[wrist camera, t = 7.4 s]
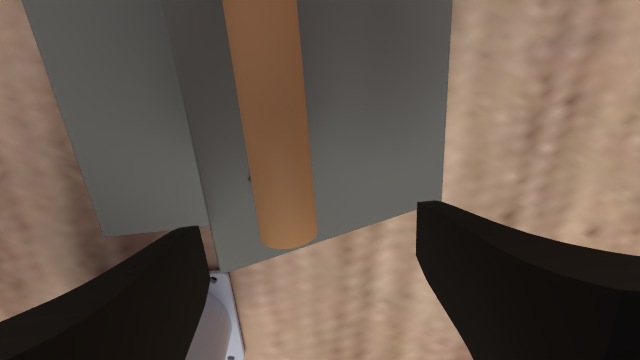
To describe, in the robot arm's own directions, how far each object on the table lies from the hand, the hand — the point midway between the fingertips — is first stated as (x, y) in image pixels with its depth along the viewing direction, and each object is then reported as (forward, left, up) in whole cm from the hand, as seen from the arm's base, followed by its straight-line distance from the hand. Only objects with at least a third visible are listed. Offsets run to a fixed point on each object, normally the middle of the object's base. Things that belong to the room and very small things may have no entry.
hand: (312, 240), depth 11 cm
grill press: (+2, +5, -5) cm, 7 cm away
